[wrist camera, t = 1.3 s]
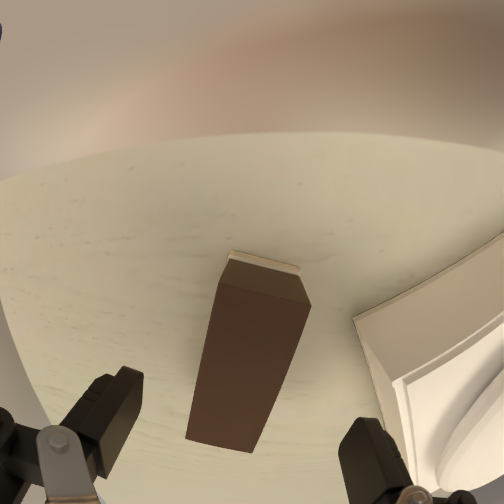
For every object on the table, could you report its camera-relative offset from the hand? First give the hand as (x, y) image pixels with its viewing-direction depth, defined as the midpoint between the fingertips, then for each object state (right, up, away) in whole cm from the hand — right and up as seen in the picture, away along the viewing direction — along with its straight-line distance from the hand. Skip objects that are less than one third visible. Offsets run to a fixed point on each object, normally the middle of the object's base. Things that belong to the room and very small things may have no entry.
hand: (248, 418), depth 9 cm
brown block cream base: (0, 0, +12) cm, 12 cm away
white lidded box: (+19, -3, +12) cm, 23 cm away
